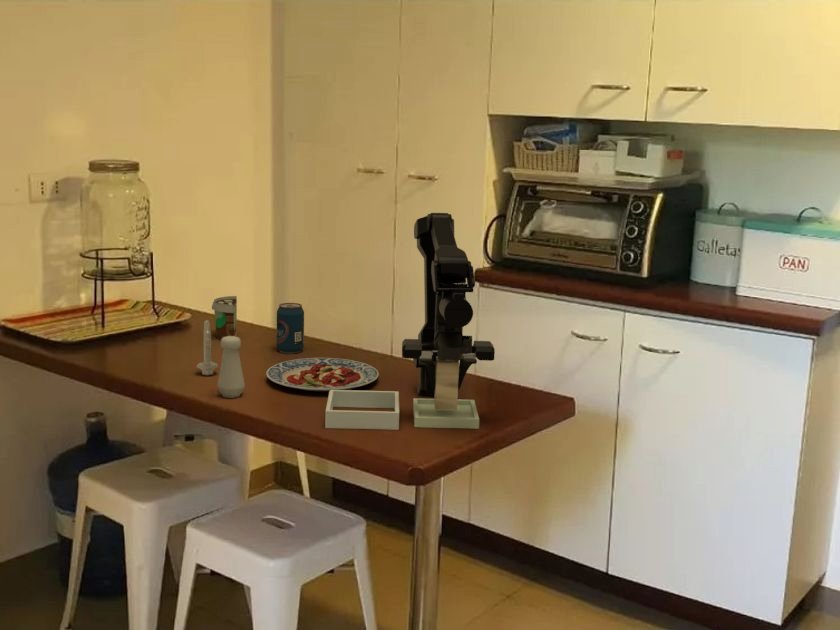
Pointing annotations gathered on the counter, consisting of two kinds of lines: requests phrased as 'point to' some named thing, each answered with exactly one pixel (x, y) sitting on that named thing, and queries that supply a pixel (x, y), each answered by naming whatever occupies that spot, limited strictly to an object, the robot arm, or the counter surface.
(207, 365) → the screw
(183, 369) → the counter surface
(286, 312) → the soda can
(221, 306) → the food container
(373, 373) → the ceramic plate
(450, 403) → the birch peg
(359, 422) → the frame
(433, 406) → the tray
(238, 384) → the salt shaker
